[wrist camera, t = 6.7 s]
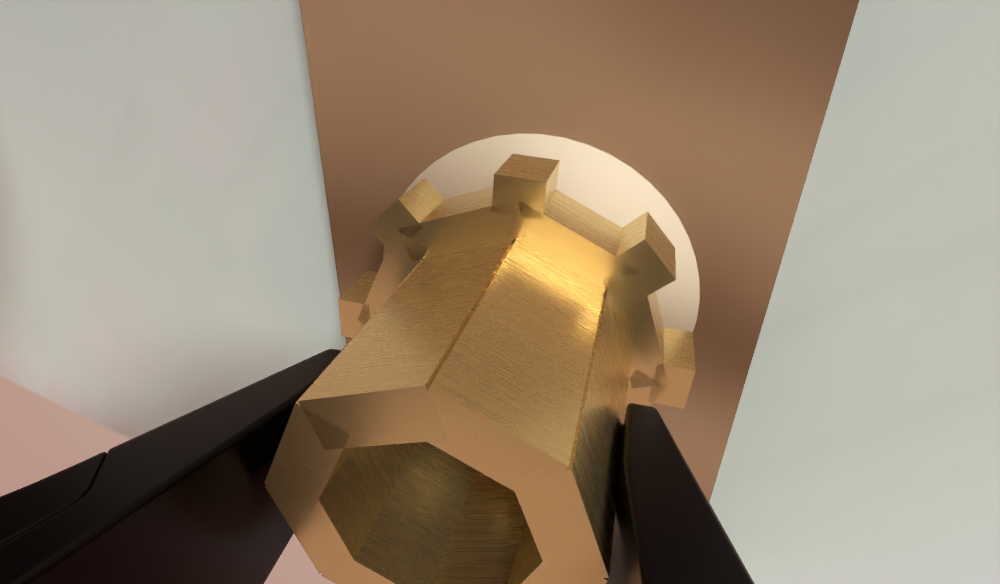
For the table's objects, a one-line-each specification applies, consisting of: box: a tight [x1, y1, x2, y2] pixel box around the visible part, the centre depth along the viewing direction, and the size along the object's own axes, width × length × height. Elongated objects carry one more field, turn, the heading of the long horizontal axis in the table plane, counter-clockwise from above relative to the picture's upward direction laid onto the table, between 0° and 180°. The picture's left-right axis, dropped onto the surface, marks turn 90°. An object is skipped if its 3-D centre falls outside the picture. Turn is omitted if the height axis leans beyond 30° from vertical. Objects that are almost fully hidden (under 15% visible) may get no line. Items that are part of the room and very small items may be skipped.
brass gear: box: [264, 154, 695, 584], centre depth 9 cm, size 6×6×5 cm
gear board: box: [300, 0, 859, 502], centre depth 11 cm, size 19×9×6 cm, turn 179°
